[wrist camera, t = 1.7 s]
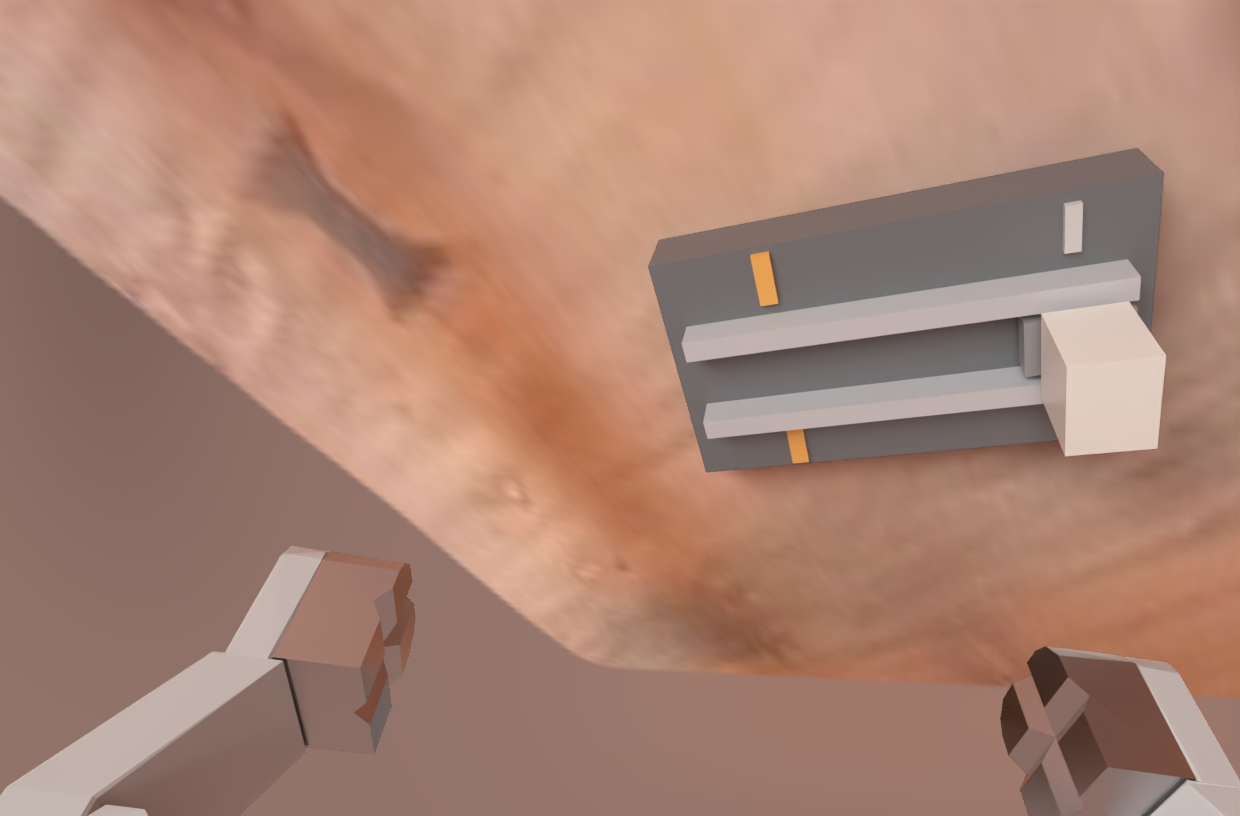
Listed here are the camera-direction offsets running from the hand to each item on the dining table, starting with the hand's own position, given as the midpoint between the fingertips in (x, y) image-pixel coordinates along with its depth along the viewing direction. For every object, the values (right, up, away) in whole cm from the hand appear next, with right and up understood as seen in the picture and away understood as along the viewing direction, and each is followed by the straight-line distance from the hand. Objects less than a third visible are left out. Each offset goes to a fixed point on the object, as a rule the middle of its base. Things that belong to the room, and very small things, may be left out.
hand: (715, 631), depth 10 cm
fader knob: (+18, +6, +22) cm, 29 cm away
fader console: (+12, +7, +27) cm, 31 cm away
